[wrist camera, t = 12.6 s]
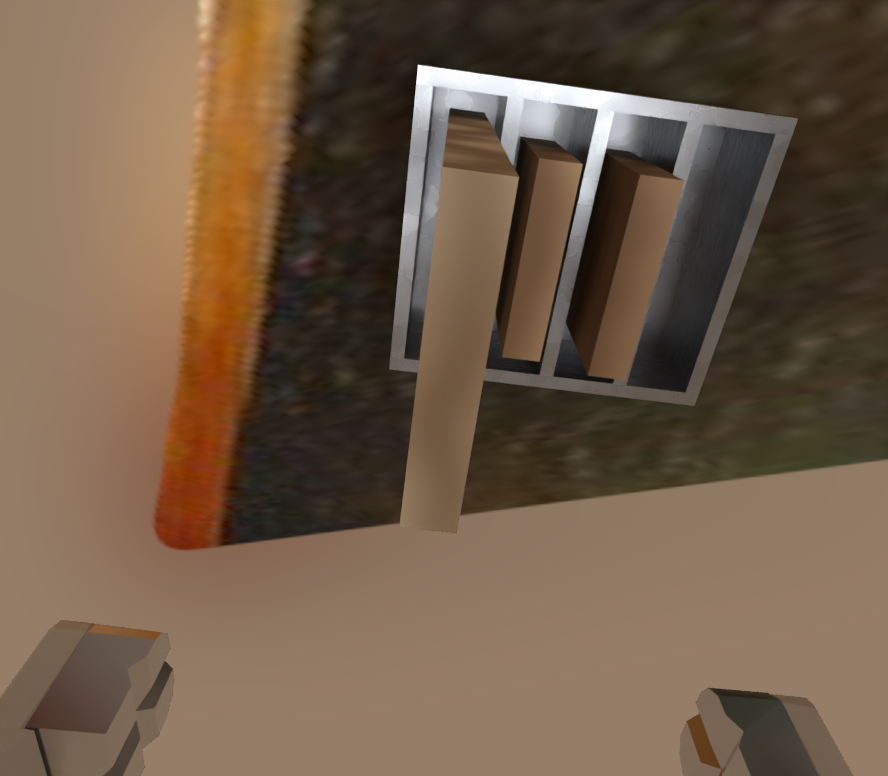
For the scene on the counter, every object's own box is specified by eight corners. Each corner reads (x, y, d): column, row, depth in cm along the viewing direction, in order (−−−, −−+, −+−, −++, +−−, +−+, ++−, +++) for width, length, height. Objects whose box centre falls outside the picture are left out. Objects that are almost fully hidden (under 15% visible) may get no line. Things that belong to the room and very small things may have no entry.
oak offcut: (554, 141, 36) (582, 164, 28) (523, 302, 41) (539, 361, 33) (520, 136, 36) (539, 158, 28) (493, 299, 41) (502, 357, 33)
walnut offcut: (628, 151, 36) (684, 180, 28) (589, 311, 41) (625, 380, 32) (595, 146, 36) (640, 174, 28) (559, 307, 41) (587, 375, 32)
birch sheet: (484, 112, 36) (519, 177, 16) (456, 309, 41) (456, 533, 22) (449, 107, 36) (442, 167, 16) (426, 305, 41) (399, 526, 22)
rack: (736, 107, 37) (797, 118, 30) (658, 353, 44) (694, 405, 37) (425, 63, 36) (417, 64, 29) (399, 321, 43) (389, 369, 37)
